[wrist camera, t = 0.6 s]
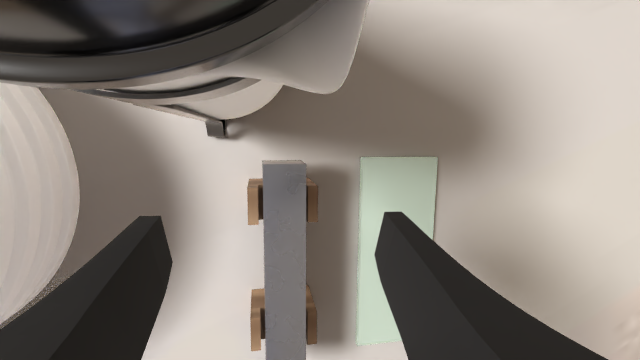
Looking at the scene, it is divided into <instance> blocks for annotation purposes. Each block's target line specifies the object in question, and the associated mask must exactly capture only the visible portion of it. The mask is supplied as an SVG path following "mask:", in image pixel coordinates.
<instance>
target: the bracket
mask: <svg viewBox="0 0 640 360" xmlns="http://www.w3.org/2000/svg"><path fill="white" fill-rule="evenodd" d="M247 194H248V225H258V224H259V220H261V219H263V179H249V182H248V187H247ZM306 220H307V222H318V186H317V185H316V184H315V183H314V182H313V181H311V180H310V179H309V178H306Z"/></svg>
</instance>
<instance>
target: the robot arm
mask: <svg viewBox="0 0 640 360" xmlns="http://www.w3.org/2000/svg"><path fill="white" fill-rule="evenodd" d="M374 255H375V260H376V264H377V269H378V273H379V277H380V281H381V284H382V287H383V290H384V293H385V295H386V298H387V301H388V304H389V306H390V309H391V312H392V314H393V317H394V320H395V323H396V325H397V328H398V331H399V333H400V336H401V339H402V341H403V344H404V347H405V350H406V353H407V356H408V360H608V359H606V358H604V357H602V356H600V355H598V354H596V353H595V352H593V351H591V350H589V349H587V348H585V347H584V346H582V345H580V344H578V343H576V342H575V341H573V340H571V339H569V338H567V337H566V336H564V335H562V334H560V333H559V332H557V331H555V330H554V329H552V328H550V327H548V326H547V325H545V324H544V323H542V322H540V321H539V320H537V319H536V318H534V317H532V316H531V315H529V314H528V313H526V312H524V311H523V310H521V309H520V308H518V307H517V306H515V305H514V304H512V303H511V302H509V301H508V300H506V299H505V298H504V297H502V296H501V295H499V294H498V293H497V292H495V291H494V290H492V289H491V288H490V287H488V286H487V285H486V284H484V283H483V282H482V281H480V280H479V279H478V278H476V277H475V276H474V275H473V274H471V273H470V272H469V271H468V270H466V269H465V268H464V267H463V266H462V265H460V264H459V263H458V262H457V261H456V260H454V259H453V258H452V257H451V256H450V255H449V254H447V253H446V252H445V251H444V250H443V249H442V248H441V247H440V246H438V245H437V244H436V243H435V242H434V241H433V240H432V239H431V238H430V237H429V236H428V235H426V234H425V233H424V232H423V231H422V230H421V229H420V228H419V227H418V226H417V225H416V224H415V223H414V222H413V221H412V220H410V219H409V218H408V217H407V216H406V215H405V214H404V213H403V212H402V211H401V212H384V216H383V220H382V224H381V228H380V233H379V237H378V241H377V245H376V250H375V254H374ZM171 267H172V258H171V255H170V251H169V247H168V243H167V239H166V235H165V231H164V227H163V224H162V220H161V216H139V217H138V218H137V219H136V220H135V221H134V222H133V223H131V224H130V225H129V226H128V227H127V228H126V229H125V230H124V231H123V232H121V233H120V234H119V235H118V236H117V237H116V238H115V239H114V240H113V241H111V242H110V243H109V244H108V245H107V246H106V247H105V248H104V249H103V250H101V251H100V252H99V253H98V254H97V255H96V256H95V257H93V258H92V259H91V260H90V261H89V262H88V263H86V264H85V265H84V266H83V267H82V268H81V269H79V270H78V271H77V272H76V273H74V274H73V275H72V276H71V277H70V278H68V279H67V280H66V281H65V282H63V283H62V284H61V285H60V286H58V287H57V288H56V289H55V290H53V291H52V292H51V293H50V294H48V295H47V296H46V297H45V298H43V299H42V300H41V301H39V302H38V303H37V304H35V305H34V306H33V307H31V308H30V309H29V310H27V311H26V312H25V313H23V314H22V315H20V316H19V317H18V318H16V319H15V320H13V321H12V322H10V323H9V324H8V325H6V326H5V327H3V328H2V329H0V360H141V358H142V356H143V353H144V350H145V348H146V345H147V342H148V339H149V337H150V334H151V331H152V329H153V326H154V323H155V321H156V318H157V315H158V312H159V310H160V307H161V304H162V301H163V298H164V296H165V293H166V289H167V285H168V280H169V276H170V271H171Z"/></svg>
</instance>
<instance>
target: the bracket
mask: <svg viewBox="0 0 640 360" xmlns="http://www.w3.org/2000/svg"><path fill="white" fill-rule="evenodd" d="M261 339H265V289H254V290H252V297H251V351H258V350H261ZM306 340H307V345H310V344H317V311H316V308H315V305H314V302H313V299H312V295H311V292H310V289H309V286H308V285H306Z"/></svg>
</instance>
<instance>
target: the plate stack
mask: <svg viewBox="0 0 640 360" xmlns="http://www.w3.org/2000/svg"><path fill="white" fill-rule="evenodd" d="M79 202H80V191H79V178H78V172H77V166H76V162H75V158H74V154H73V151H72V148H71V145H70V142H69V140H68V137H67V135H66V133H65V130H64V128H63V126H62V124H61V122H60V120H59V119H58V117H57V115H56V113H55V112H54V110H53V109H52V107H51V106H50V104H49V103H48V101H47V100H46V98H45V97H44V96H43V94H42V93H41V92H40V91H39V89H38V88H37V87H31V86H22V85H14V84H8V83H1V82H0V324H1V323H2V322H4V321H5V320H7V319H8V318H10V317H11V316H12V315H14V314H15V313H16V312H18V311H19V310H20V309H22V308H23V307H24V306H25V305H27V304H28V303H29V302H30V301H31V300H32V299H33V298H35V297H36V296H37V295H38V294H39V293H40V292H41V291H42V289H43V288H44V287H45V286H46V285H47V284H48V282H49V281H50V280H51V279H52V277H53V276H54V275H55V273H56V272H57V270H58V269H59V267H60V265H61V264H62V262H63V260H64V258H65V256H66V254H67V252H68V250H69V247H70V245H71V242H72V239H73V236H74V233H75V229H76V225H77V220H78V213H79Z"/></svg>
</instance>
